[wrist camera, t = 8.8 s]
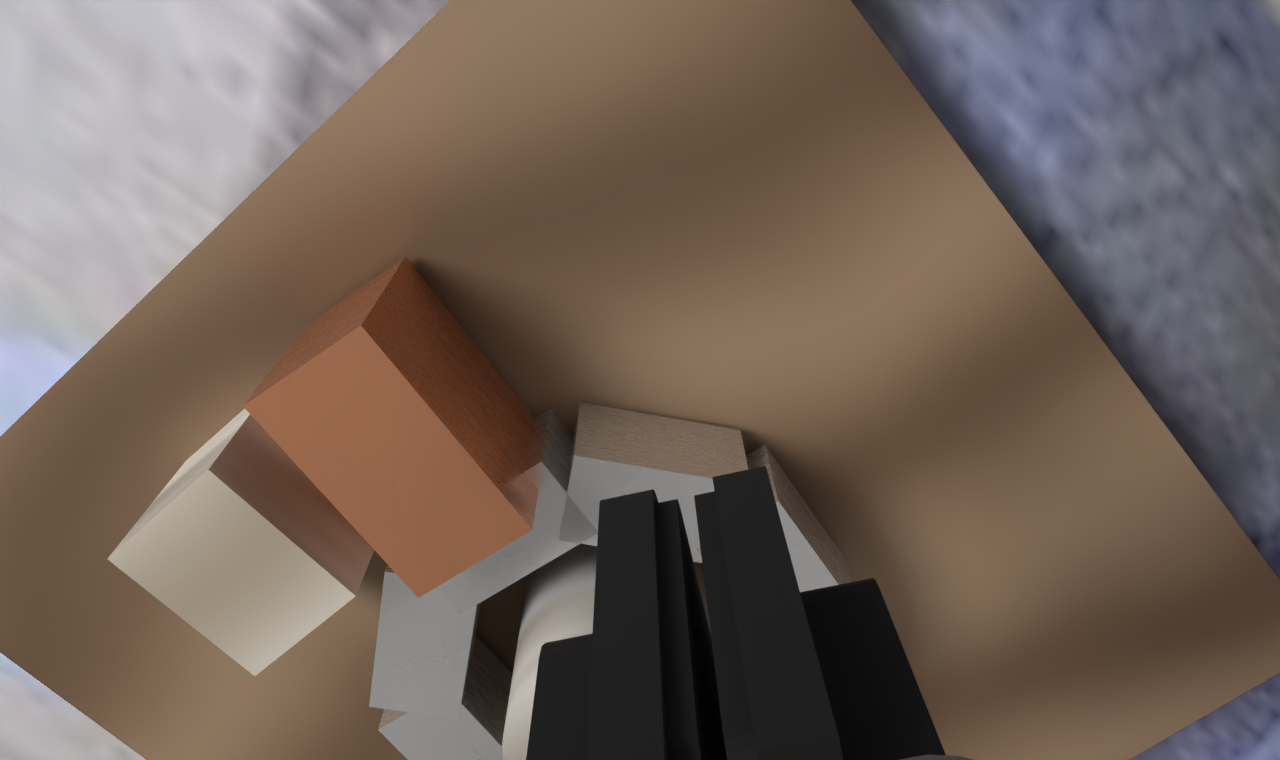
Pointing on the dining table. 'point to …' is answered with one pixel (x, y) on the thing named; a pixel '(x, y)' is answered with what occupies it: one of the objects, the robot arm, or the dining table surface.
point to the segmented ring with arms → (474, 492)
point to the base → (636, 394)
